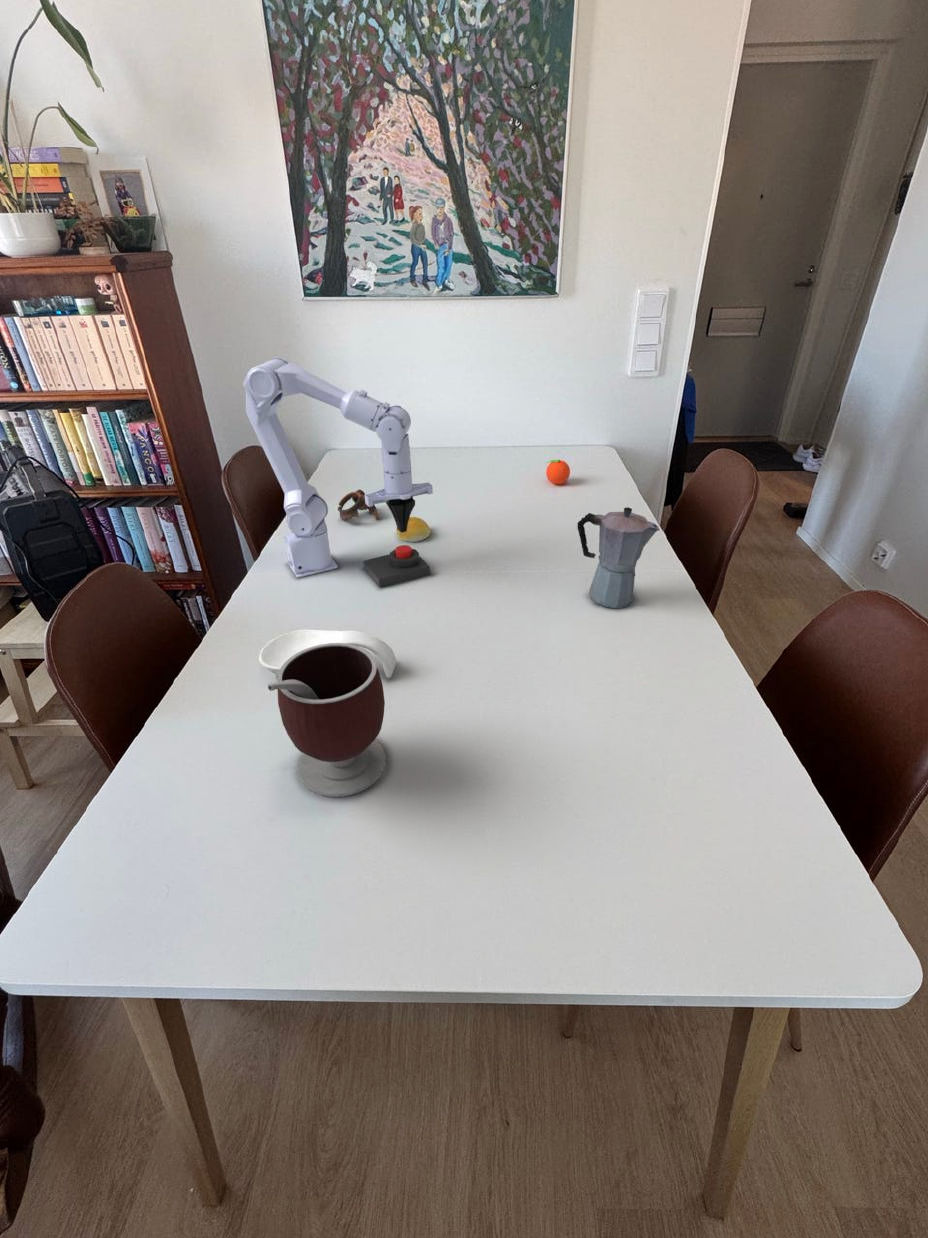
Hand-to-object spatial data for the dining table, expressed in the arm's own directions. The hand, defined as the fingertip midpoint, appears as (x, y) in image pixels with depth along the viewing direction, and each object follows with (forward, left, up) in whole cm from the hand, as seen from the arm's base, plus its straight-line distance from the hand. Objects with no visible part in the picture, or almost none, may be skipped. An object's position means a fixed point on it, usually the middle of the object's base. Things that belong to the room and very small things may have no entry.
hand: (402, 530), depth 136 cm
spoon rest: (-26, -27, -10) cm, 39 cm away
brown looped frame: (+1, +33, -10) cm, 34 cm away
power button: (0, 0, -6) cm, 6 cm away
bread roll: (+9, +16, -10) cm, 21 cm away
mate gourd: (-32, -51, -10) cm, 61 cm away
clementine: (+60, +28, -10) cm, 67 cm away
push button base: (-2, 0, -10) cm, 10 cm away
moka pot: (+32, -32, -10) cm, 46 cm away
